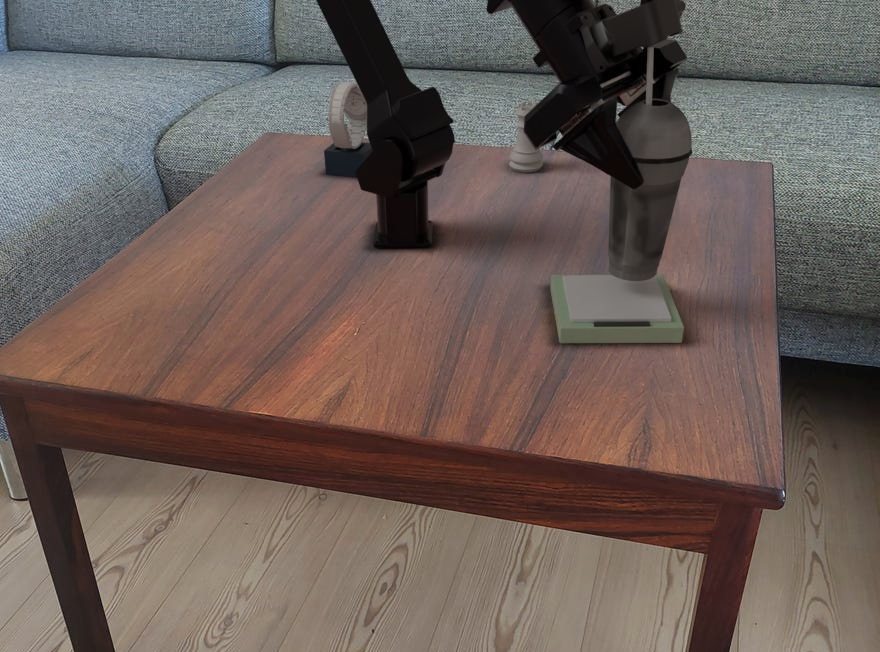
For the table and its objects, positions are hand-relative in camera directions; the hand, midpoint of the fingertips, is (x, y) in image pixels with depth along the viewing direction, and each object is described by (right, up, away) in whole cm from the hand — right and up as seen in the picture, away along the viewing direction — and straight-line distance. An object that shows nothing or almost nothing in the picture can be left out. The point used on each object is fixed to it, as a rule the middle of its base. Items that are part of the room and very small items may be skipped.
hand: (659, 173), depth 82 cm
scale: (-2, -11, +7) cm, 14 cm away
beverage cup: (-1, -7, +7) cm, 10 cm away
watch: (-29, +14, +42) cm, 53 cm away
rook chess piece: (-6, +14, +40) cm, 43 cm away
